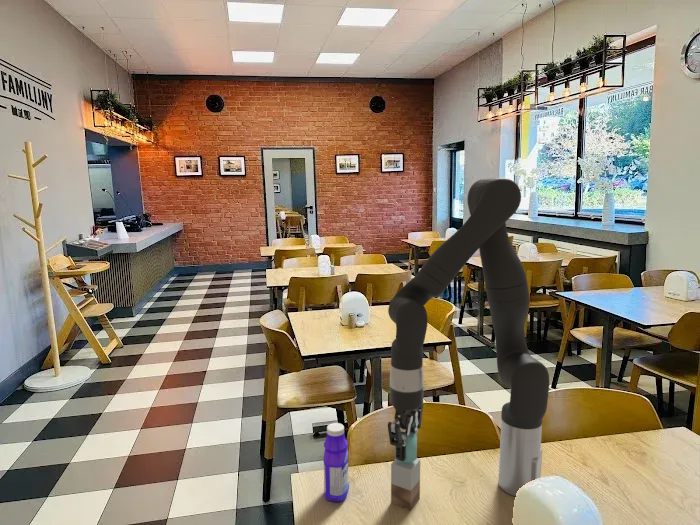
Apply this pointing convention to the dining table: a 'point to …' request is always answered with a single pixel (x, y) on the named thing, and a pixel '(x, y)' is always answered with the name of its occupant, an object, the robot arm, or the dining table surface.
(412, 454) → the teal rounded cylinder
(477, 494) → the dining table surface
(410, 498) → the base block
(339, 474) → the bottle
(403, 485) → the mid block
